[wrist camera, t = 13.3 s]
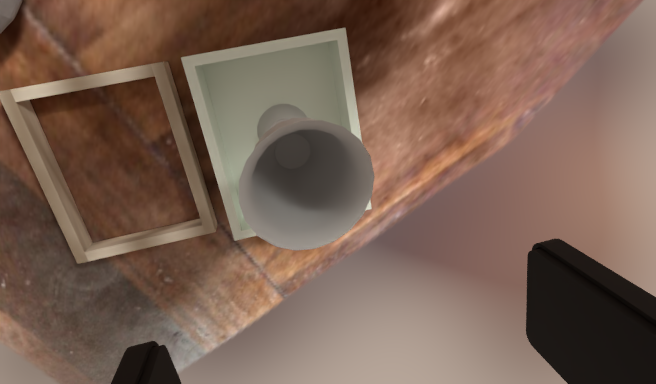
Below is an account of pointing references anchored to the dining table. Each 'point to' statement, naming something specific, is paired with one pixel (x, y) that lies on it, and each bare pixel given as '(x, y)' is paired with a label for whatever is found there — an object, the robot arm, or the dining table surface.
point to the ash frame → (56, 185)
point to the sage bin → (266, 99)
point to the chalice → (304, 180)
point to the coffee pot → (8, 12)
